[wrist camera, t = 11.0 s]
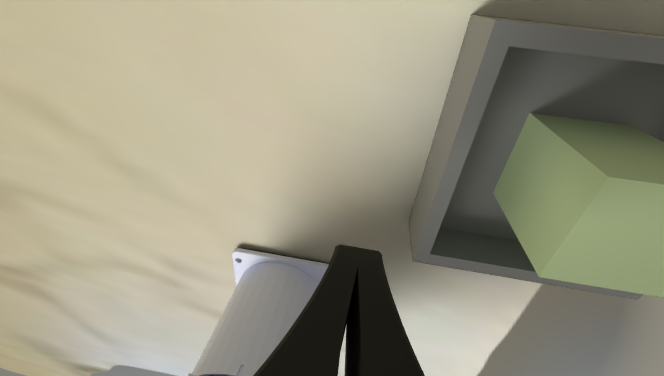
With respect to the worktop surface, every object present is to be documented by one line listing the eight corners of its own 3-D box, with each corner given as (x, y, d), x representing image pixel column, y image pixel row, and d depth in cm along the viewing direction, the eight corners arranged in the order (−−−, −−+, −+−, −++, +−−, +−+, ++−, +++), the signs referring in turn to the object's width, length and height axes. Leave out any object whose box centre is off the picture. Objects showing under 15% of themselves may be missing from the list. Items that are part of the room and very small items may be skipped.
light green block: (579, 205, 16) (664, 297, 11) (492, 192, 17) (539, 276, 12) (633, 125, 14) (773, 199, 9) (529, 113, 14) (608, 176, 9)
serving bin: (598, 253, 19) (637, 299, 16) (408, 222, 20) (412, 261, 17) (766, 47, 12) (883, 63, 9) (471, 14, 13) (495, 20, 10)
